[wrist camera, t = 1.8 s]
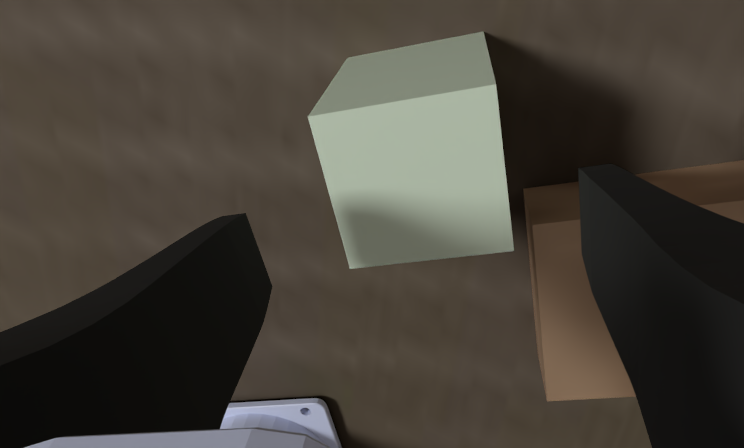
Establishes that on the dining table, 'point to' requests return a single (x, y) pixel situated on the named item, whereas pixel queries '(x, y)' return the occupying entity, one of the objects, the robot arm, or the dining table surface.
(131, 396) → the robot arm
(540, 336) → the walnut slab
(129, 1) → the dining table surface
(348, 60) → the sage block
